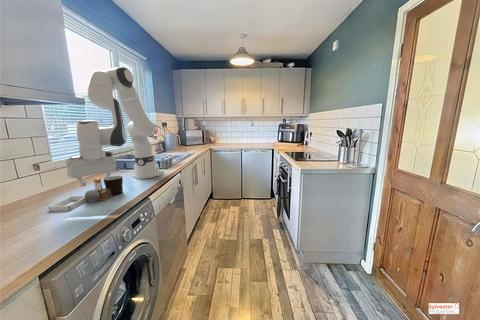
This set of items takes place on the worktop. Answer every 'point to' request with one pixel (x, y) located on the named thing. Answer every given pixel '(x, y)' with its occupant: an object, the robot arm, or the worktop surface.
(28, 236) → the worktop surface
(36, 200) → the worktop surface
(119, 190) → the coffee mug
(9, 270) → the worktop surface
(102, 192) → the tensioner block
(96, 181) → the lock pin
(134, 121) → the robot arm
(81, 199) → the parts tray
